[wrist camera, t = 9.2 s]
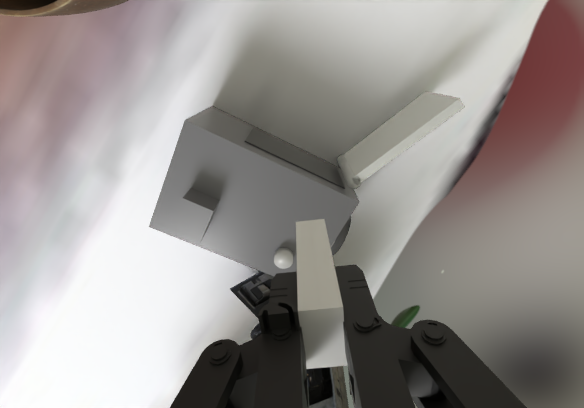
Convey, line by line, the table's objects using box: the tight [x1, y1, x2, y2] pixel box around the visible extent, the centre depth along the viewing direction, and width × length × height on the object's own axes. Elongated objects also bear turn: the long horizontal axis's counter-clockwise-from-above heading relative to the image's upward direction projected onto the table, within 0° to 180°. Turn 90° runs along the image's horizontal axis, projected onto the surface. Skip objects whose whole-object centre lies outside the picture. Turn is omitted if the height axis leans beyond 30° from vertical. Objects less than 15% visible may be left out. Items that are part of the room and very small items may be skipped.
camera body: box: [149, 106, 359, 276], centre depth 35 cm, size 12×20×12 cm, turn 64°
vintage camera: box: [230, 271, 349, 408], centre depth 39 cm, size 10×16×20 cm, turn 34°
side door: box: [337, 91, 465, 189], centre depth 34 cm, size 2×13×8 cm, turn 130°
